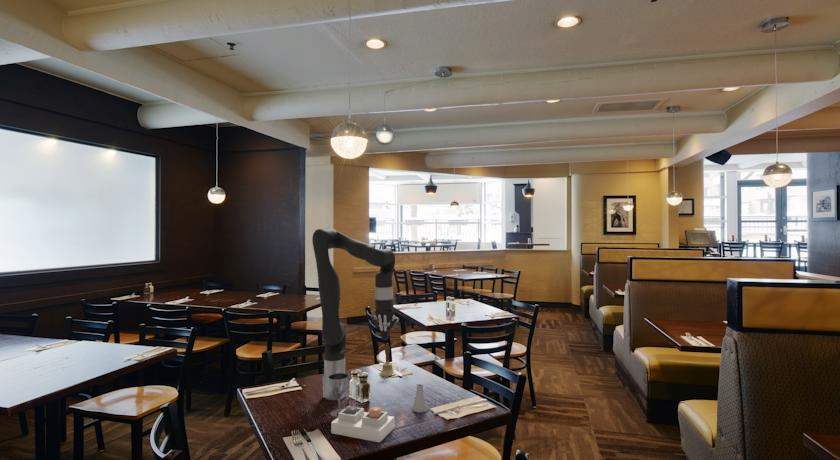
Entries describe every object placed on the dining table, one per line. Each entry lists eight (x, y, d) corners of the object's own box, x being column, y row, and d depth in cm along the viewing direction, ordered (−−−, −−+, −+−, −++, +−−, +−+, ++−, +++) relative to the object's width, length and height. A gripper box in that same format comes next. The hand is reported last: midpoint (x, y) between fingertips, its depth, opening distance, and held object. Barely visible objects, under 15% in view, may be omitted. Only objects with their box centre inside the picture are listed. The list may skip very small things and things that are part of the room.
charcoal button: (343, 418, 160) (343, 410, 160) (349, 413, 164) (349, 405, 164) (353, 419, 158) (353, 411, 158) (359, 415, 162) (359, 407, 162)
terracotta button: (366, 419, 156) (366, 410, 156) (372, 414, 160) (372, 406, 160) (377, 420, 154) (377, 412, 154) (383, 415, 158) (383, 407, 158)
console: (331, 433, 157) (331, 415, 157) (348, 419, 168) (348, 402, 168) (379, 442, 150) (379, 423, 150) (394, 427, 161) (394, 410, 161)
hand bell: (397, 371, 223) (396, 341, 223) (393, 377, 215) (392, 345, 215) (381, 371, 225) (381, 340, 225) (377, 376, 216) (376, 345, 216)
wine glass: (352, 409, 177) (351, 373, 177) (343, 418, 170) (342, 380, 169) (335, 407, 180) (334, 372, 180) (325, 415, 172) (324, 378, 172)
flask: (427, 413, 172) (426, 389, 172) (409, 412, 173) (409, 388, 173) (430, 406, 179) (430, 382, 179) (413, 405, 180) (413, 381, 180)
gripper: (365, 298, 175) (366, 340, 175) (394, 299, 170) (395, 343, 170) (374, 295, 182) (375, 336, 182) (402, 296, 177) (403, 338, 177)
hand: (384, 339), depth 176 cm, fingers closed
